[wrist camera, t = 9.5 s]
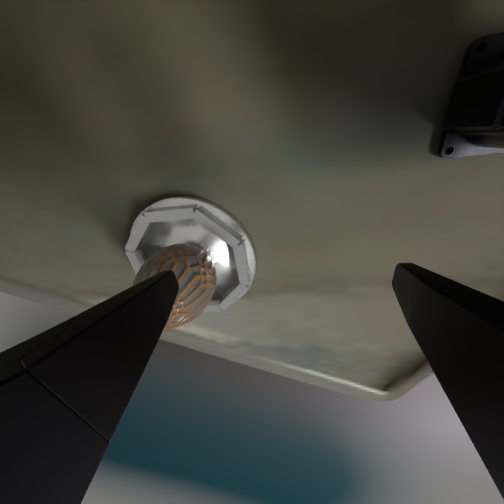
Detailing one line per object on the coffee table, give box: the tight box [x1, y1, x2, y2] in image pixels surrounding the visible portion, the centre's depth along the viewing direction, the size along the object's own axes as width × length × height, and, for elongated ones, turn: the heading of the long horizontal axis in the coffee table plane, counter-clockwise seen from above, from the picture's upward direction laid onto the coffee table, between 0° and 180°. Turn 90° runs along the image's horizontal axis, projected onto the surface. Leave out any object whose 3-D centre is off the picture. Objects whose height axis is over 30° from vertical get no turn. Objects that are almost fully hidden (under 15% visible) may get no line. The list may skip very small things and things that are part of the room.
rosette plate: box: [125, 196, 256, 312], centre depth 22 cm, size 14×14×2 cm
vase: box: [133, 243, 217, 336], centre depth 18 cm, size 7×7×9 cm
